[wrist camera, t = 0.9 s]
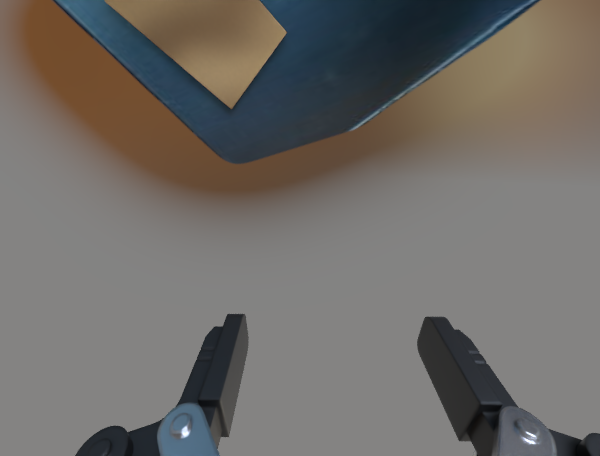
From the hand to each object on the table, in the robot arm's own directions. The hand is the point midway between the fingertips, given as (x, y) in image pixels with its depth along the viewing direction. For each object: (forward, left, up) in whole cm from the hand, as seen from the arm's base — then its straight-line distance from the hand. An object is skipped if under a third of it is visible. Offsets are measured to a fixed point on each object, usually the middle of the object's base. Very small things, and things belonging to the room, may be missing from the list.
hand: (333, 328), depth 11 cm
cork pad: (-15, 0, -27) cm, 31 cm away
